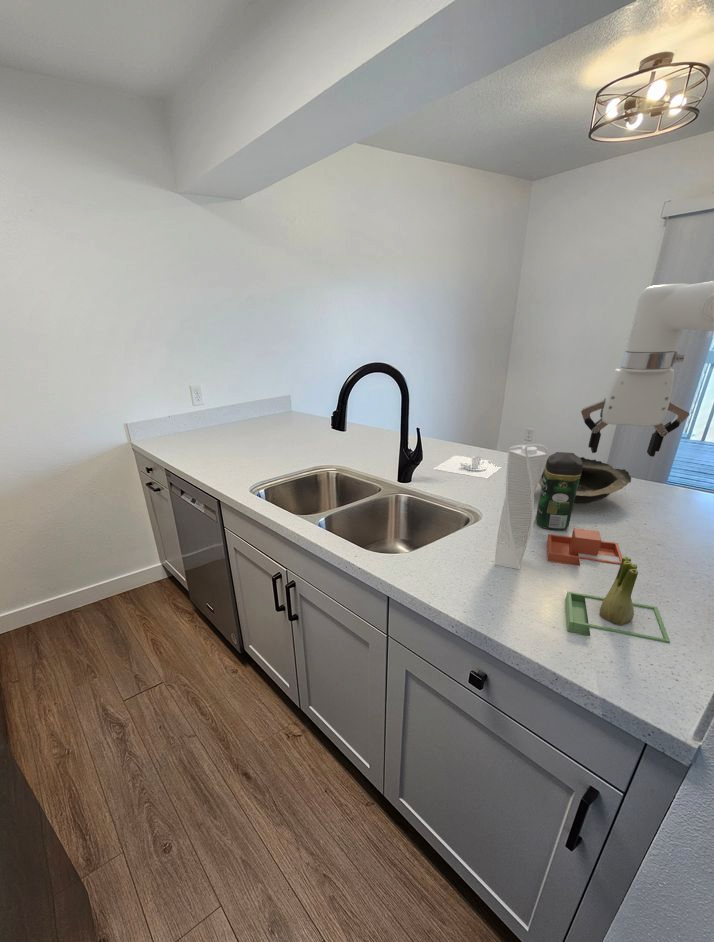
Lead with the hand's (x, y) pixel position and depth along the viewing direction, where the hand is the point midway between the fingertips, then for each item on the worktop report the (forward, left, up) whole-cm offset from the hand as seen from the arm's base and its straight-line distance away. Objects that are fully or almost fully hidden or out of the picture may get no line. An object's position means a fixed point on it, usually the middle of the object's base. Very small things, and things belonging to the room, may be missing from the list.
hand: (621, 452), depth 87 cm
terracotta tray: (+2, 0, -24) cm, 24 cm away
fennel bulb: (-1, +25, -24) cm, 35 cm away
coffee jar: (+8, -16, -24) cm, 31 cm away
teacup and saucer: (+34, -60, -24) cm, 74 cm away
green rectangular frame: (-1, +25, -24) cm, 35 cm away
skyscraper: (+17, +9, -24) cm, 31 cm away
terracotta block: (+2, 0, -24) cm, 24 cm away
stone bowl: (+2, -37, -24) cm, 45 cm away
